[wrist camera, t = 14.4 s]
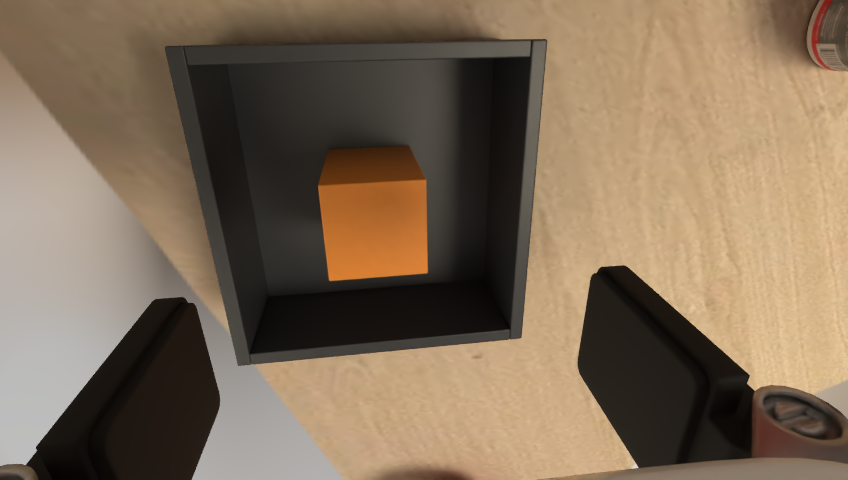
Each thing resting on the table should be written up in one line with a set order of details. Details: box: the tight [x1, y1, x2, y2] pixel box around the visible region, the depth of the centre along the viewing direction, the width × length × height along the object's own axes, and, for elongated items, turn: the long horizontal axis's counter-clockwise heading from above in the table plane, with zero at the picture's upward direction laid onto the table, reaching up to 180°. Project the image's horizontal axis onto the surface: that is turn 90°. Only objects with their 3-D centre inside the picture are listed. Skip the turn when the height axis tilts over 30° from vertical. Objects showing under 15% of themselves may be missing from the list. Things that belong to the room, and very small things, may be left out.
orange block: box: [318, 146, 428, 281], centre depth 20 cm, size 4×4×6 cm
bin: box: [165, 39, 547, 366], centre depth 21 cm, size 13×13×6 cm
